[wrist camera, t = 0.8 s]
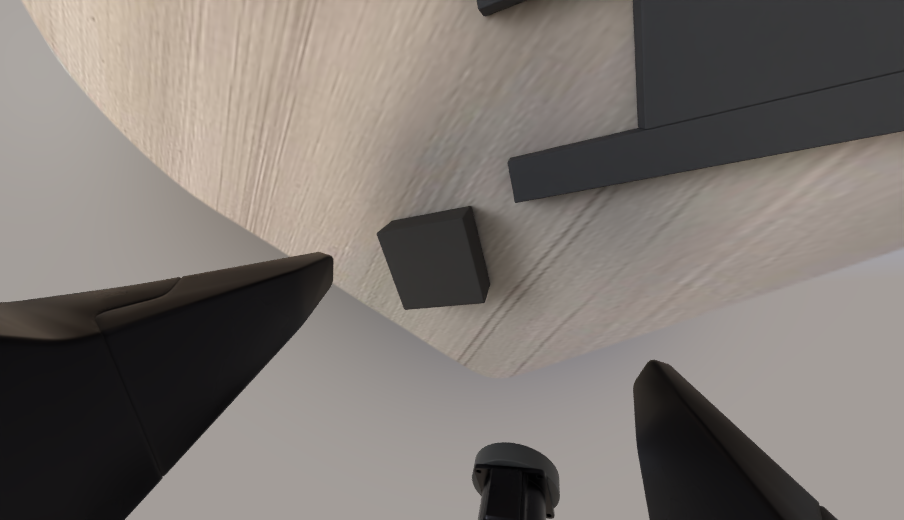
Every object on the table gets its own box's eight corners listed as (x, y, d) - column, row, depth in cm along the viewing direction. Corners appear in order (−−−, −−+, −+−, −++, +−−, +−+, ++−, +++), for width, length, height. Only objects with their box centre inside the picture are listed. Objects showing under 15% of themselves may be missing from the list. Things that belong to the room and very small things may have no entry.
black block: (490, 284, 24) (484, 303, 21) (416, 292, 26) (404, 310, 23) (471, 205, 21) (462, 217, 19) (391, 220, 23) (375, 233, 21)
